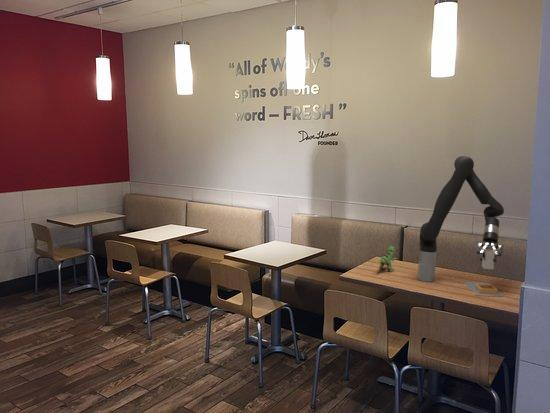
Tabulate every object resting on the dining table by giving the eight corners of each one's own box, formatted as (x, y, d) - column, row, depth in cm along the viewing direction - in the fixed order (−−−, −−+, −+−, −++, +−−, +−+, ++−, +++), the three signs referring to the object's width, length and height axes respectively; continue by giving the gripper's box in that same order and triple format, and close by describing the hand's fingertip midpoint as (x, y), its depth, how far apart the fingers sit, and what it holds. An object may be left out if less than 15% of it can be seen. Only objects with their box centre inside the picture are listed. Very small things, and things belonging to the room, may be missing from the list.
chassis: (475, 295, 259) (475, 289, 259) (464, 283, 281) (464, 277, 280) (503, 297, 258) (503, 290, 257) (489, 284, 279) (490, 278, 279)
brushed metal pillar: (484, 268, 261) (485, 250, 259) (481, 266, 265) (483, 248, 264) (493, 269, 260) (494, 250, 259) (490, 267, 265) (492, 248, 263)
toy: (395, 267, 314) (396, 244, 311) (398, 276, 293) (399, 252, 291) (376, 266, 315) (377, 243, 313) (378, 275, 294) (379, 251, 292)
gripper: (476, 229, 270) (473, 255, 261) (505, 232, 263) (503, 258, 254) (476, 237, 275) (473, 263, 266) (505, 240, 269) (502, 266, 260)
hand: (488, 260), depth 260 cm, fingers closed on brushed metal pillar, 5 cm apart
